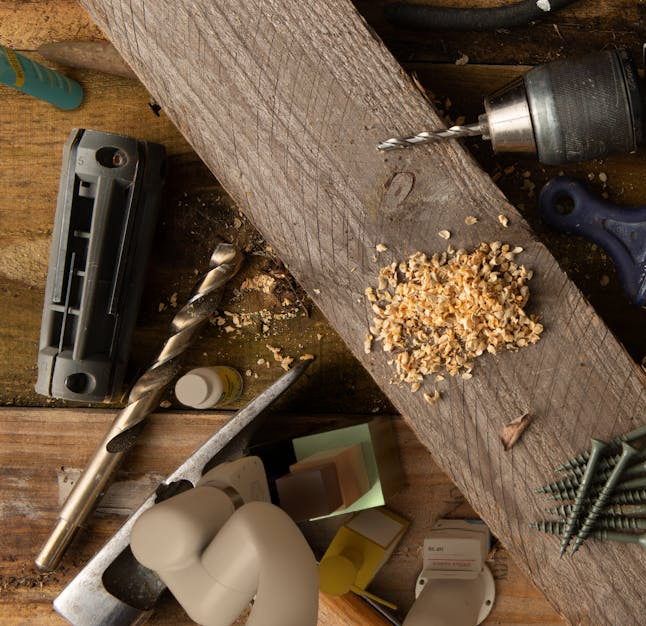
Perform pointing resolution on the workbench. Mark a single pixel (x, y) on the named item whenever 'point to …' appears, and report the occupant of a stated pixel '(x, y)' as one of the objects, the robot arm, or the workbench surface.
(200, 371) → the pill bottle
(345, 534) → the soap bottle
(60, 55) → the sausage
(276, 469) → the oven door
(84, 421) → the workbench surface
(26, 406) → the workbench surface
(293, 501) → the block
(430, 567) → the ink box
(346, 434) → the oven
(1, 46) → the tube
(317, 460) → the riser
